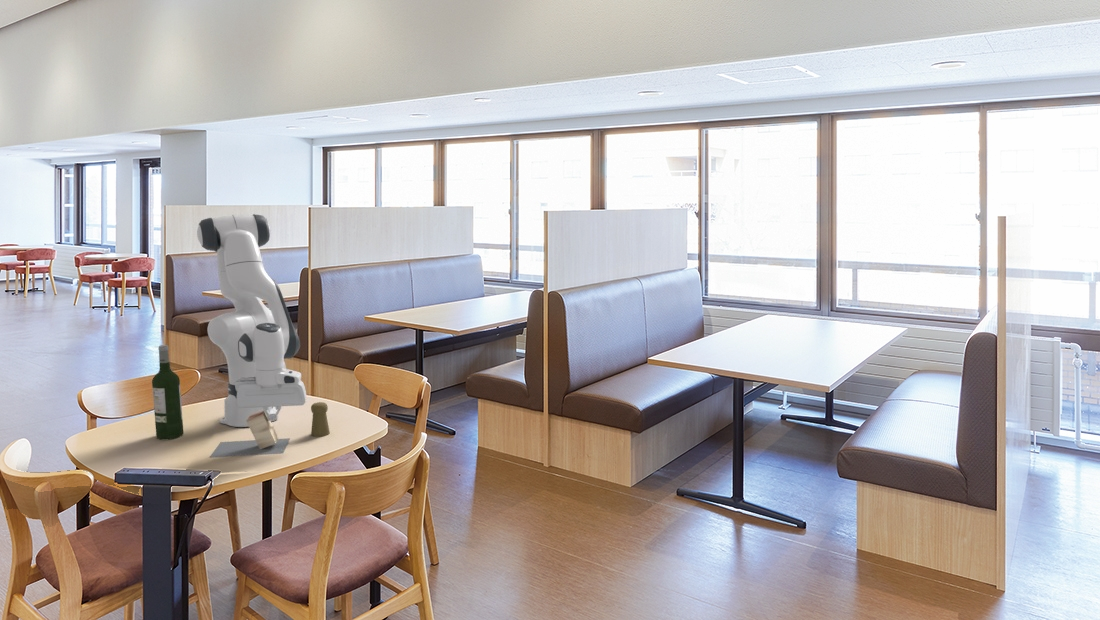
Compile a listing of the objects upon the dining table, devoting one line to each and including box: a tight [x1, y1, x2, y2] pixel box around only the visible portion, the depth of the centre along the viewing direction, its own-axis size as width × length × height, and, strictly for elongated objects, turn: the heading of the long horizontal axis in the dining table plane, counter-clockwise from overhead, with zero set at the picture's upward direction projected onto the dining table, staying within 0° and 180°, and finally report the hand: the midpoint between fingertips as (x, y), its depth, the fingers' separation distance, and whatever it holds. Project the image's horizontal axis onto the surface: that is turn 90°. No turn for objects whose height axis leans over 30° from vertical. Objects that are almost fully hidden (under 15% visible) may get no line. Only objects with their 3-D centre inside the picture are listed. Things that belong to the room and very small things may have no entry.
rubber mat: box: [209, 437, 291, 458], centre depth 229 cm, size 14×21×1 cm, turn 101°
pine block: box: [246, 411, 279, 449], centre depth 229 cm, size 5×5×10 cm
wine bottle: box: [151, 344, 184, 440], centre depth 239 cm, size 8×8×30 cm
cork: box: [310, 401, 331, 438], centre depth 241 cm, size 6×6×11 cm
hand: (272, 420), depth 229 cm, fingers closed
